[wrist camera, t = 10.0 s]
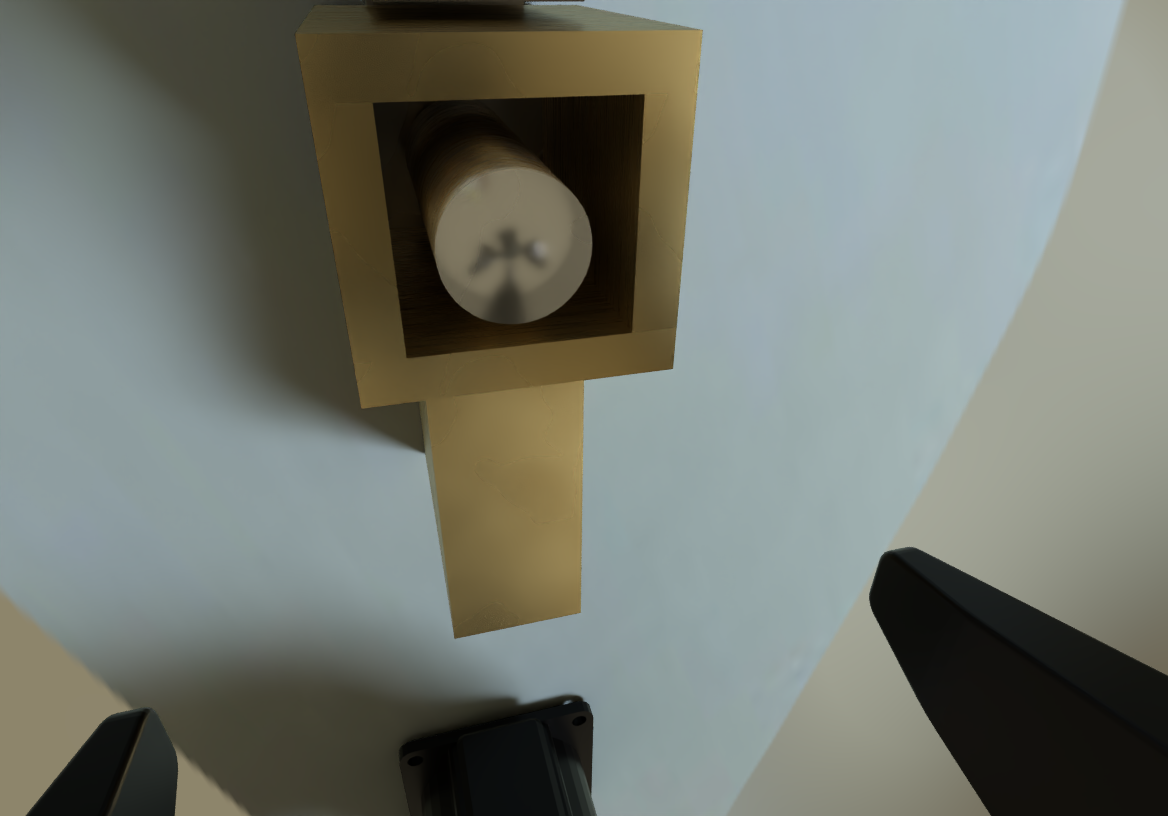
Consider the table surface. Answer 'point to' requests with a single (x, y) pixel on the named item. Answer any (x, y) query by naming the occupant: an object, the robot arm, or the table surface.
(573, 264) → the block with metal peg
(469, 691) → the table surface
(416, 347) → the square hoop paddle
